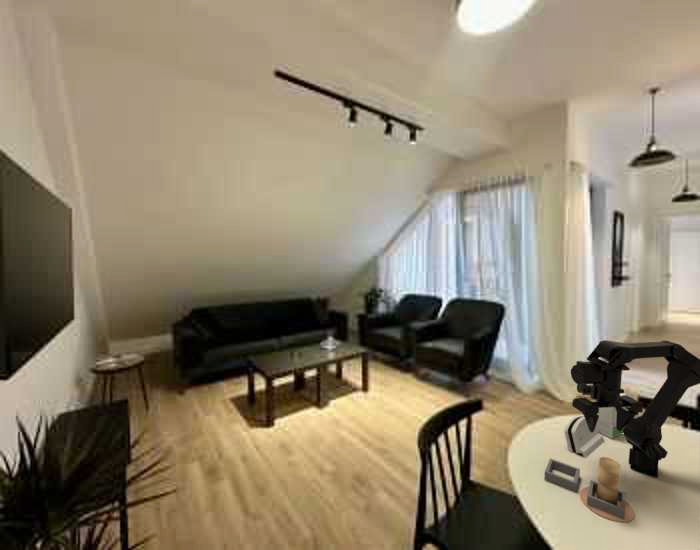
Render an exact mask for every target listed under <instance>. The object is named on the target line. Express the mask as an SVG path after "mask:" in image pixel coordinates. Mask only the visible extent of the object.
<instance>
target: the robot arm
mask: <svg viewBox="0 0 700 550" xmlns="http://www.w3.org/2000/svg"><path fill="white" fill-rule="evenodd" d="M600 358H601V359H600ZM653 358H656V359H657V358H663V359H664V360H665V361H667V366H666V376H667V377H666V379H665V381H664V382H663V384H662V386H660V388H659V390H658V391H657V393H656V394H655V396H654V397H653V399H652V400H651V402H650V403H649V405H647V407H646V409H645V410H644V411H643V409H644V406H643V404H642V403H641V401H638V400H636V399H635V398H633V397H631V396H629V395H626V396H620V393H625V389H623V388H621V387H622V377H623V376H622V375H623V371H630V367H628V366H627V365H626V364H630V363H632V361H635V360H637V359H638V360H639V359H640V360H641V359H653ZM570 375H571V379H572V380H573V382H574V384H576V391H577V392H578V393H579V394H582V396H589V397H590V398H591V399H592V400H595V401H592V400H590V399H588V398H586V397H575V398H574V399H572V405H571V406H572V408H575V409H576V410H578V412H581V413H582V415H583V416H584V417H585V420H586V423H587V426H588V429H589V431H590V432H591V433H593V432H594V430H595V427H596V424H597V421H598V418H599V415H597V414H598V413H599V409H601V408H615V409H616V411H617V418H616V428H617V430H618V431H621V430H622V429H623V428H624V429H623V433H624V434H623V436H624V438H625V440H626V442H627V443H628V444H629V445H631V447H629V452H628V453H629V454H628V464H629V465H630V467H629V469H631V470H632V471H635V472H638V473H642V474H644V475H647V476H651V477H653V478H659V461H662V459H666V457H667V455H668V451H667V450H666V449H665V448H664V447H663V445H661V442H662V439H663V433H662V426H663V425H664V424H665V423H666V420H667V419H668V418H669V416H670V415H671V414H672V412H673V411H674V409H675V408H676V406H677V404H679V402H680V400H681V399H682V397H683V396H684V395H685V393H686V391H688V389H689V388H692V387H694V386H696V385H699V384H700V358H699V357H697V356H696V355H694V354H693V353H691V352H690V351H688V350H687V349H686V348H685V347H684V346H683V345H682V344H679V343H677V342H673V341H669V340H661V341H652V342H651V341H650V342H649V341H648V342H633V343H624V342H620V341H615V340H600V341H599V343H598V344H597V345H596V347H595V348H594V349H593V350H592V351H591V353H590V354H589V355H588V356H587V357H586V361H582V360H577V361H576V363H575V364H574V365H573V366H572V367H571V369H570ZM639 413H642V415H640V416H639ZM636 416H638V417H636Z"/></svg>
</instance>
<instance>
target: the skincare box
mask: <svg viewBox="0 0 700 550" xmlns="http://www.w3.org/2000/svg"><path fill="white" fill-rule="evenodd" d="M620 396H627V393H625V392H624V393H620ZM597 415H599V418H598V421H597V424H596V428H597V430H598V432H599V434H600V433H601V435H602V434H603V435H602V436H605V437H607V438H609V437H610V438H609V439H614V438H616V437H615V436H617V437H618V435H619V436H621V435H620V434H622V433H623V429H624V428H623V429H622V430H621V431H618V430H617V428H616V418H617V411H616V409H615V408H601V409H599V413H598V414H597ZM622 435H623V434H622ZM613 437H614V438H613Z"/></svg>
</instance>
